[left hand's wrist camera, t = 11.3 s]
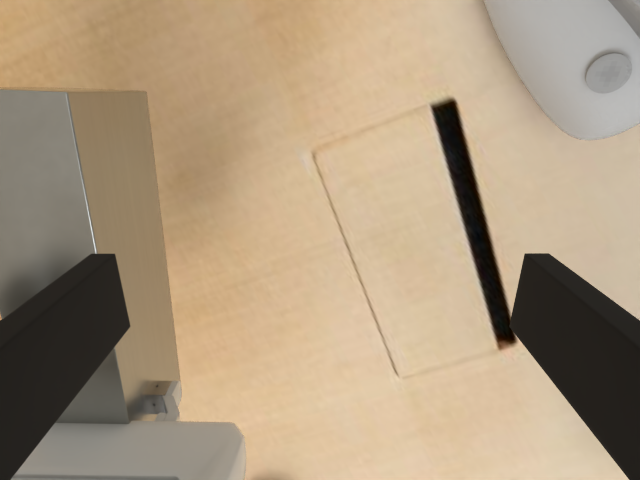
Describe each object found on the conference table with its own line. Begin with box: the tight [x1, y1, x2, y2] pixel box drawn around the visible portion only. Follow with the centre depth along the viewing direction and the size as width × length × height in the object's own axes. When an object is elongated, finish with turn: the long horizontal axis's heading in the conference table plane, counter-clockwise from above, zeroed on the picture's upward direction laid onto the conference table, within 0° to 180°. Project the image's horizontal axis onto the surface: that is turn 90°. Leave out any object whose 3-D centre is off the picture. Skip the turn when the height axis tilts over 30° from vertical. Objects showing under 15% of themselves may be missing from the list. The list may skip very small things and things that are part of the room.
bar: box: [0, 87, 182, 424], centre depth 25 cm, size 24×6×9 cm, turn 178°
